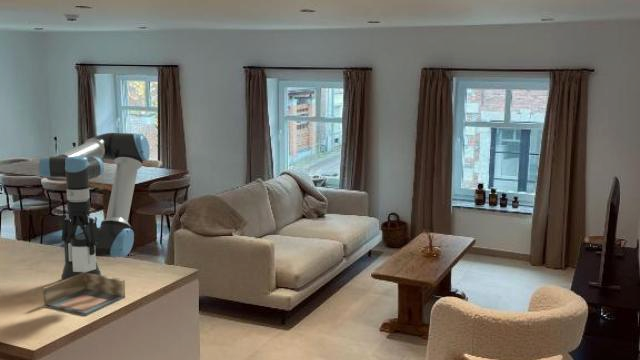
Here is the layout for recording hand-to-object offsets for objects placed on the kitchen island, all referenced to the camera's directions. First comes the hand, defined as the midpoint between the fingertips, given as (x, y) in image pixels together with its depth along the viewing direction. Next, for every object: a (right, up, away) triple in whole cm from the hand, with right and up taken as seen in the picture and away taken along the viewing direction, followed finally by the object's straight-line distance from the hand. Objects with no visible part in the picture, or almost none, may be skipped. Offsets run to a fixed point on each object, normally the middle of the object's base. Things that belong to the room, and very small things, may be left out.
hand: (81, 261), depth 228 cm
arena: (-1, -16, +6) cm, 17 cm away
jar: (+1, -3, +1) cm, 3 cm away
